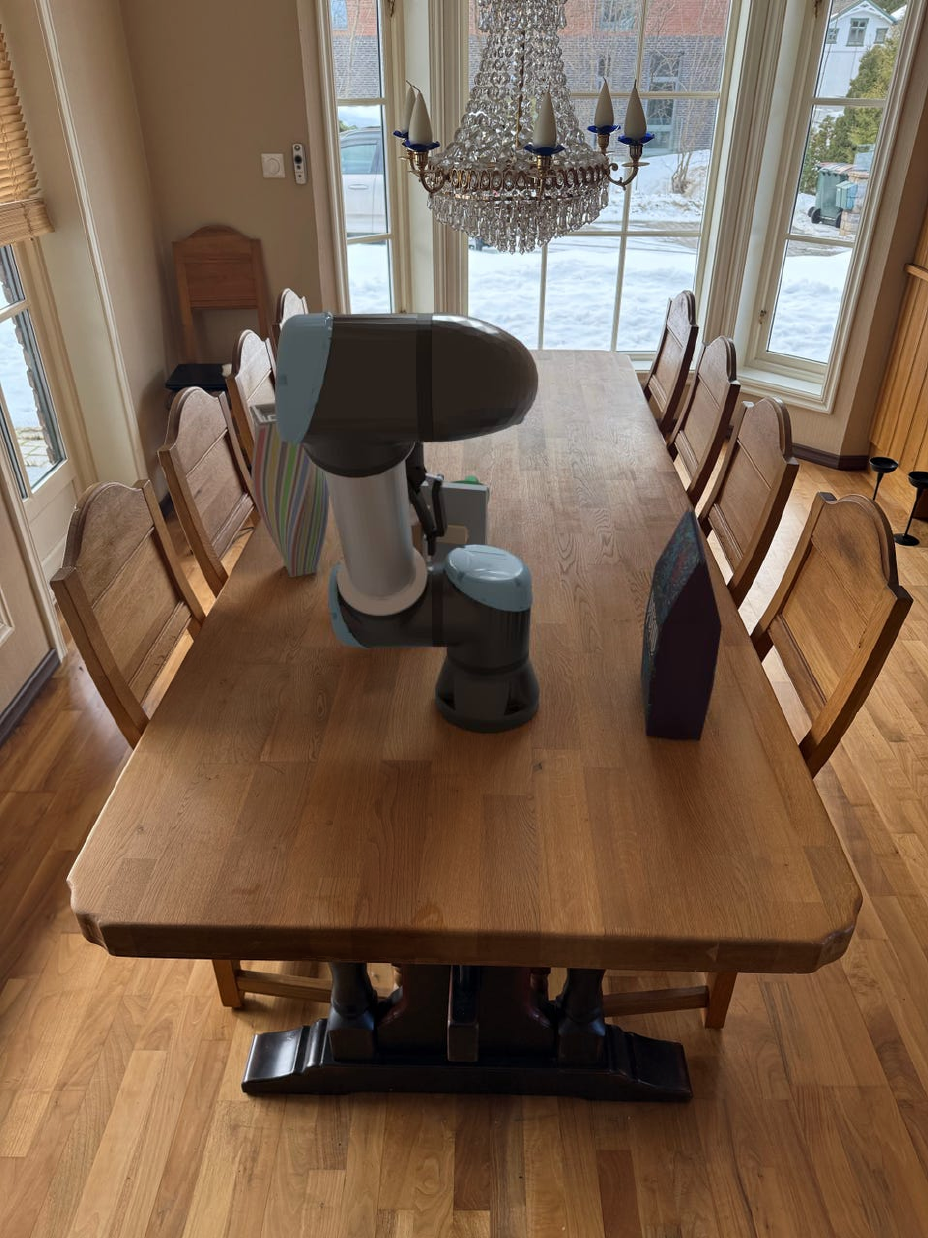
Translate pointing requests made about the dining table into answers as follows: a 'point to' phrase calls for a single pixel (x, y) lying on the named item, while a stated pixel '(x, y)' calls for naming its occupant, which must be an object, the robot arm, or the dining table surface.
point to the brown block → (417, 529)
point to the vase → (288, 494)
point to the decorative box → (680, 638)
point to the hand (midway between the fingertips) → (404, 568)
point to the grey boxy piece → (460, 516)
